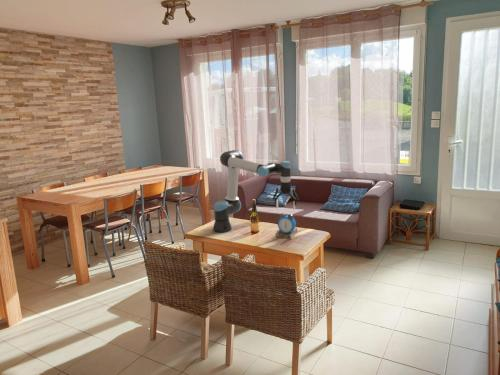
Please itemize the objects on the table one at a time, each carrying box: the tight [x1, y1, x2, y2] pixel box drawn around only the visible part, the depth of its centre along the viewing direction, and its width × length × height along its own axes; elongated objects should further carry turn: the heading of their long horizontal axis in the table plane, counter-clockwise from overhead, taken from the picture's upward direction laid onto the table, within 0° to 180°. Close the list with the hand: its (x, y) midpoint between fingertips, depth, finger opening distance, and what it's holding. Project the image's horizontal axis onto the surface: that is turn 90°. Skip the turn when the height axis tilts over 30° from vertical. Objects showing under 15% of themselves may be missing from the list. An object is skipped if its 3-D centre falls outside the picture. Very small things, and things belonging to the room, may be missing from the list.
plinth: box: [275, 227, 298, 240], centre depth 315 cm, size 12×18×4 cm
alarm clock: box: [277, 212, 297, 233], centre depth 313 cm, size 13×6×15 cm, turn 63°
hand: (285, 208), depth 311 cm, fingers open, 13 cm apart
